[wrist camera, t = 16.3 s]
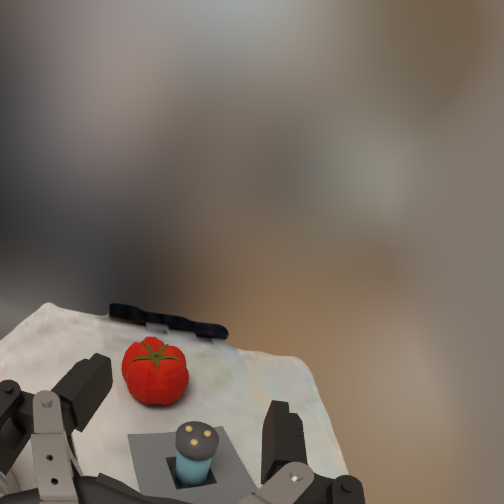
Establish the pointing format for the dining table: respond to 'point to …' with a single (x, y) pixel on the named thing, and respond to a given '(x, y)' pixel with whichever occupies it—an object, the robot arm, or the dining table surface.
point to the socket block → (164, 466)
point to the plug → (194, 453)
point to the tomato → (155, 371)
